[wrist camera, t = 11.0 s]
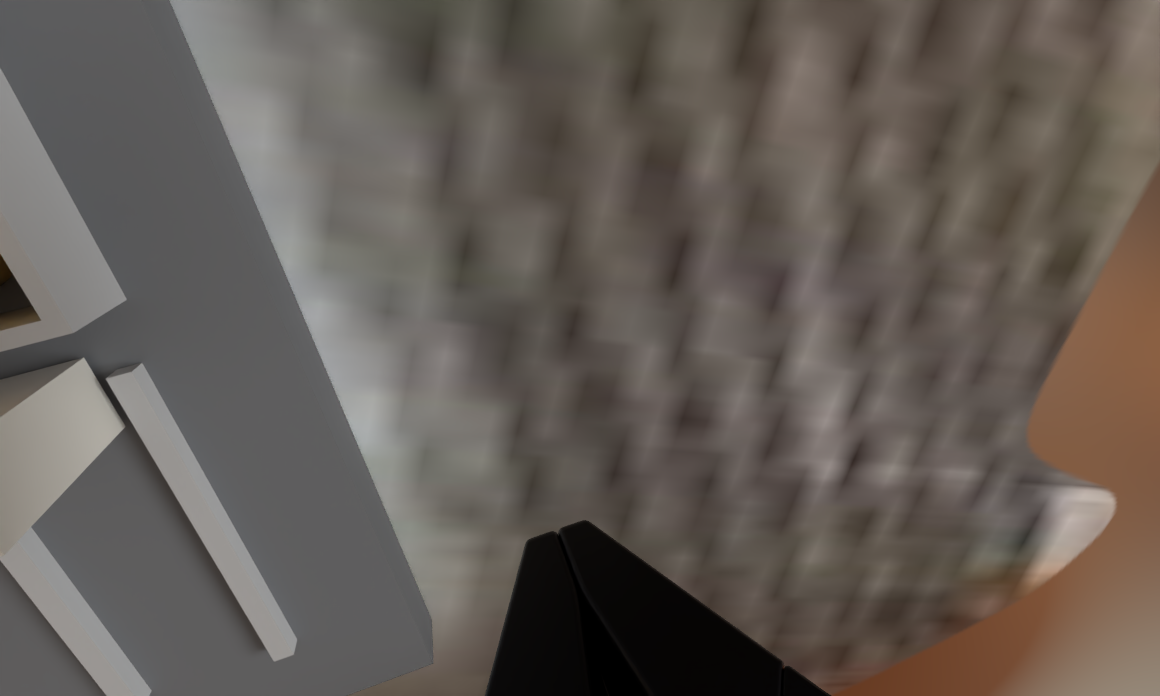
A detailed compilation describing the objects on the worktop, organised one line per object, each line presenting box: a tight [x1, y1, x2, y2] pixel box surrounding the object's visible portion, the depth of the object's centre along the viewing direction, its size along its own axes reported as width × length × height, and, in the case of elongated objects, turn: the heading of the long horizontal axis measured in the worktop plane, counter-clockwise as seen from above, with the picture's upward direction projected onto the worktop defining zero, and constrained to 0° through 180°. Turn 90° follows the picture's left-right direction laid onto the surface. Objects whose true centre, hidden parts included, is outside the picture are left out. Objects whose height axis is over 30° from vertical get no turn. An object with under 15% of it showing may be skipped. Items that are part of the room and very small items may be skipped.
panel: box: [0, 0, 433, 696], centre depth 14 cm, size 27×12×4 cm, turn 12°
